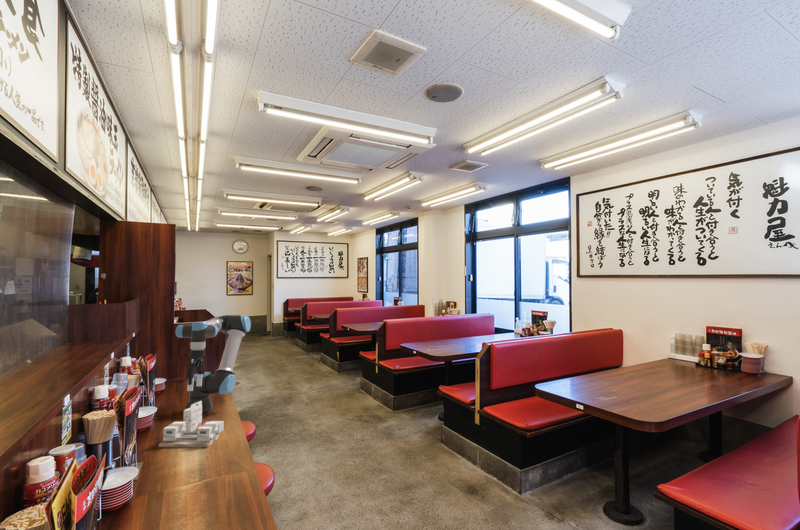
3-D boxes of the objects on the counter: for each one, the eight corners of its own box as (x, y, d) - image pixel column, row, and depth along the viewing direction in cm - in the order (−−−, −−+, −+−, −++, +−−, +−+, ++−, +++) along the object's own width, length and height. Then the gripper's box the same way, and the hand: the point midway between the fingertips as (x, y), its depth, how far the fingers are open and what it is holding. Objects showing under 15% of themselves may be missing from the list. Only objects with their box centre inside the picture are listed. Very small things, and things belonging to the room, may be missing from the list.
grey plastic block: (210, 430, 201) (211, 420, 201) (223, 430, 201) (223, 420, 201) (206, 433, 196) (206, 424, 196) (219, 434, 196) (219, 424, 196)
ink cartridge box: (194, 426, 206) (195, 399, 207) (202, 426, 205) (202, 400, 206) (182, 432, 198) (183, 404, 198) (190, 433, 197) (191, 405, 197)
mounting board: (176, 435, 193) (176, 419, 194) (221, 435, 193) (221, 420, 194) (158, 447, 179) (159, 430, 180) (207, 447, 179) (207, 430, 180)
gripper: (198, 347, 218) (195, 384, 215) (181, 351, 193) (177, 393, 190) (211, 347, 219) (209, 384, 216) (196, 351, 195) (193, 392, 192)
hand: (194, 388), depth 203 cm, fingers open, 13 cm apart
